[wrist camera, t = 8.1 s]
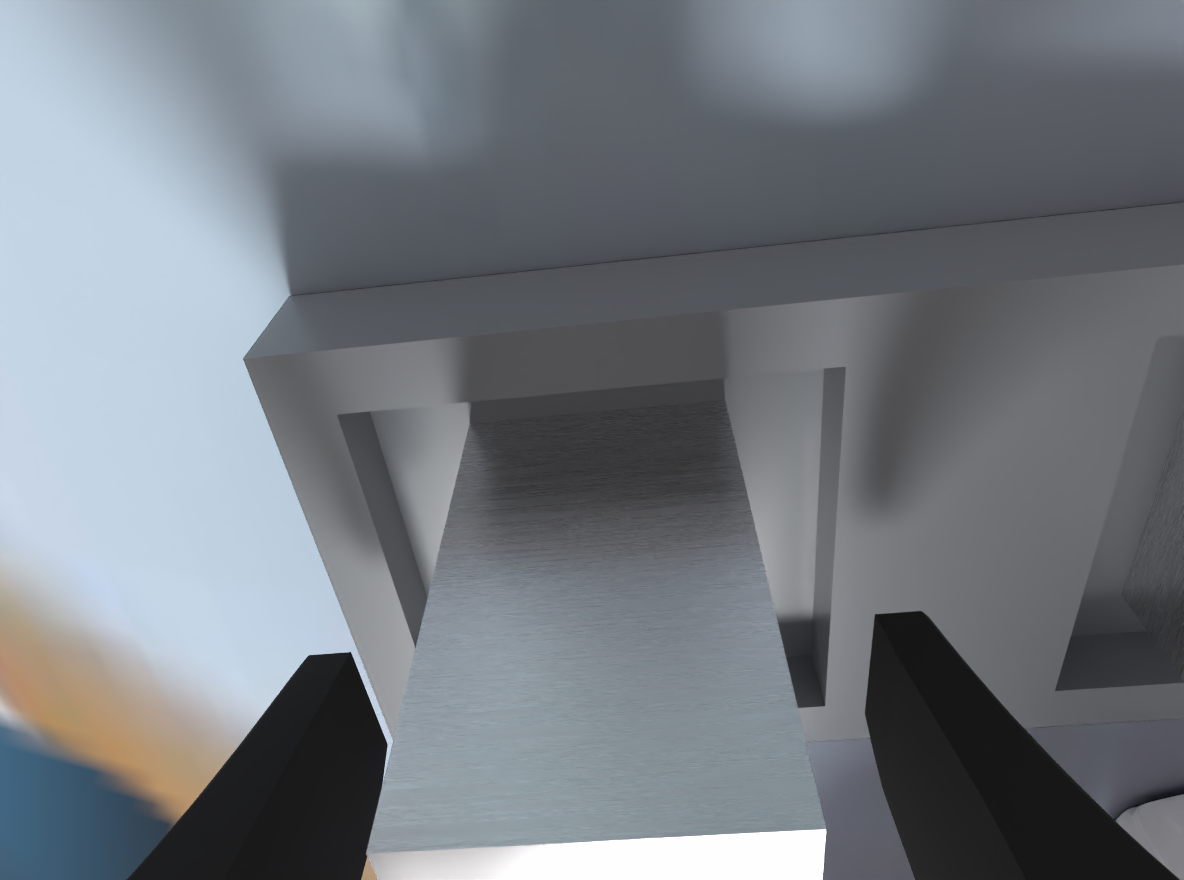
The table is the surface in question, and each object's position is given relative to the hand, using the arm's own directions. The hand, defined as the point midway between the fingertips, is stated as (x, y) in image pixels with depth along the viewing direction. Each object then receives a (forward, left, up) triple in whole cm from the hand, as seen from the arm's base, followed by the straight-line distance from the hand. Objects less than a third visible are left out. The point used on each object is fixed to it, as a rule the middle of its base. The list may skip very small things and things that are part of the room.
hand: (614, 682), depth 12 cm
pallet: (0, -5, -4) cm, 7 cm away
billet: (0, 0, -3) cm, 3 cm away
